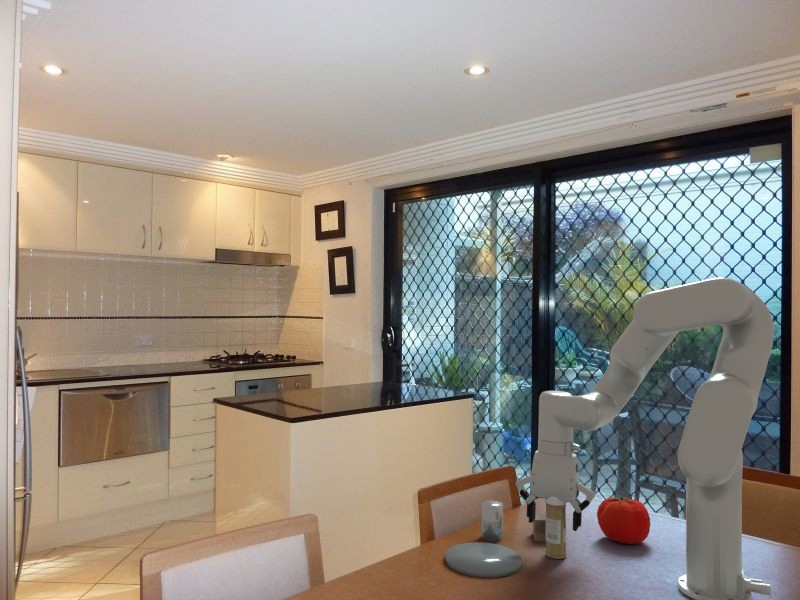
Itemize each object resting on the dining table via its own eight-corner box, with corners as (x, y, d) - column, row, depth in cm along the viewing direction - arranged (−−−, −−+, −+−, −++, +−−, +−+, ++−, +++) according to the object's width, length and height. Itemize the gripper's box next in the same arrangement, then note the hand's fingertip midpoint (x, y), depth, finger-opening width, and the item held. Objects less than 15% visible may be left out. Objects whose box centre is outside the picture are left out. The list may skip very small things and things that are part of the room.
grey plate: (529, 555, 134) (529, 550, 134) (507, 583, 120) (507, 577, 120) (461, 543, 141) (461, 537, 141) (433, 567, 127) (433, 561, 127)
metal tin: (505, 536, 146) (505, 502, 147) (498, 542, 142) (499, 508, 142) (485, 532, 149) (485, 499, 149) (478, 539, 144) (478, 504, 144)
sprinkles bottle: (570, 556, 134) (570, 495, 134) (556, 561, 131) (556, 498, 132) (554, 550, 138) (555, 490, 138) (540, 554, 135) (540, 493, 136)
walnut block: (553, 534, 148) (553, 514, 148) (556, 542, 143) (556, 520, 143) (532, 533, 148) (532, 513, 149) (534, 541, 143) (534, 519, 144)
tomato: (653, 538, 146) (653, 494, 146) (646, 553, 136) (646, 507, 136) (602, 529, 152) (602, 487, 152) (592, 543, 142) (592, 499, 142)
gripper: (598, 449, 135) (596, 527, 134) (521, 439, 143) (520, 513, 142) (592, 455, 128) (590, 538, 128) (512, 445, 136) (510, 522, 136)
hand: (553, 524), depth 135 cm, fingers open, 9 cm apart
